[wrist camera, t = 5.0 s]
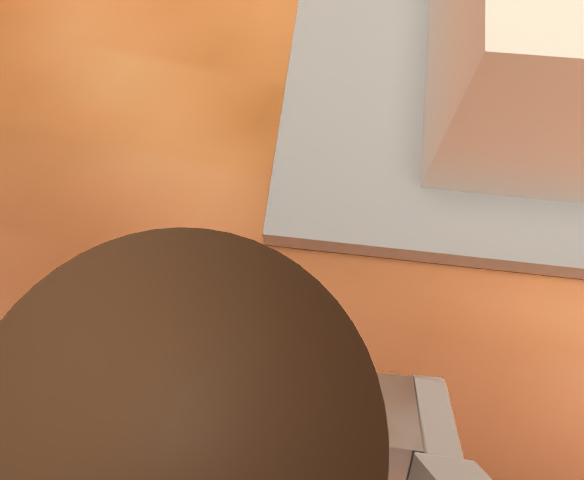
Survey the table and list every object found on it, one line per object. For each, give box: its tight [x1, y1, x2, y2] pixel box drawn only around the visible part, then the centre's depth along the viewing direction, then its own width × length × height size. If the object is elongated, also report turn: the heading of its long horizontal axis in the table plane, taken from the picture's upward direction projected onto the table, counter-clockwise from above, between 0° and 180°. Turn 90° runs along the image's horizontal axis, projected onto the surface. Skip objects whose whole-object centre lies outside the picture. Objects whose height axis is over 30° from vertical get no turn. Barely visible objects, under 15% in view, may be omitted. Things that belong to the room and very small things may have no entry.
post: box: [0, 228, 389, 480], centre depth 9 cm, size 3×3×11 cm
